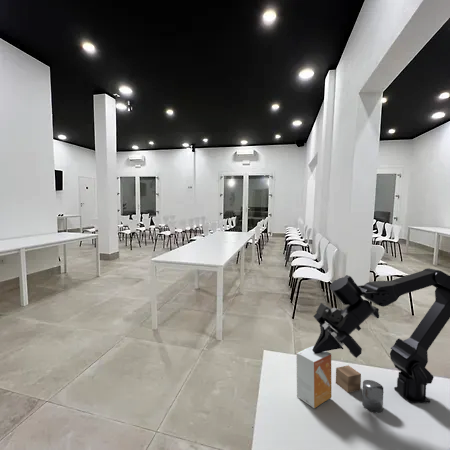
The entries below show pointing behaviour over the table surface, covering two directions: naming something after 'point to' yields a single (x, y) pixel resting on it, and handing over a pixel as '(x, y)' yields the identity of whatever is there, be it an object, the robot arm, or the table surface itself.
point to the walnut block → (348, 379)
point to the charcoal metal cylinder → (372, 396)
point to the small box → (313, 376)
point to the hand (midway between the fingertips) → (313, 351)
